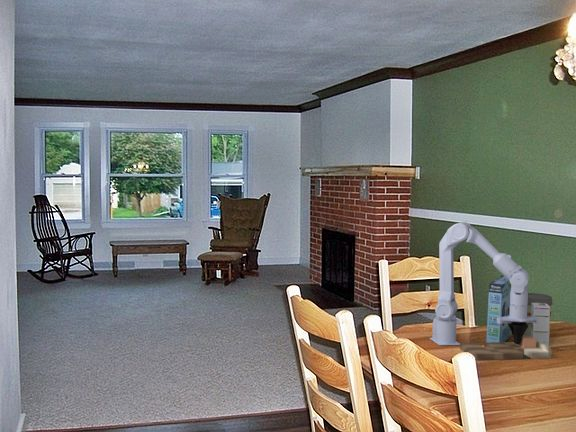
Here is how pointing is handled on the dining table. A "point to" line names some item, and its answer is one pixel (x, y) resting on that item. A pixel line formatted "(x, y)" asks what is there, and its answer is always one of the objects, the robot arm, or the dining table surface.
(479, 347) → the board
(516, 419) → the dining table surface
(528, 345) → the block
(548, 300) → the reusable coffee cup
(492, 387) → the dining table surface
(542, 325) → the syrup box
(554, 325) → the dining table surface
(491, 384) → the dining table surface
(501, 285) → the gum box
